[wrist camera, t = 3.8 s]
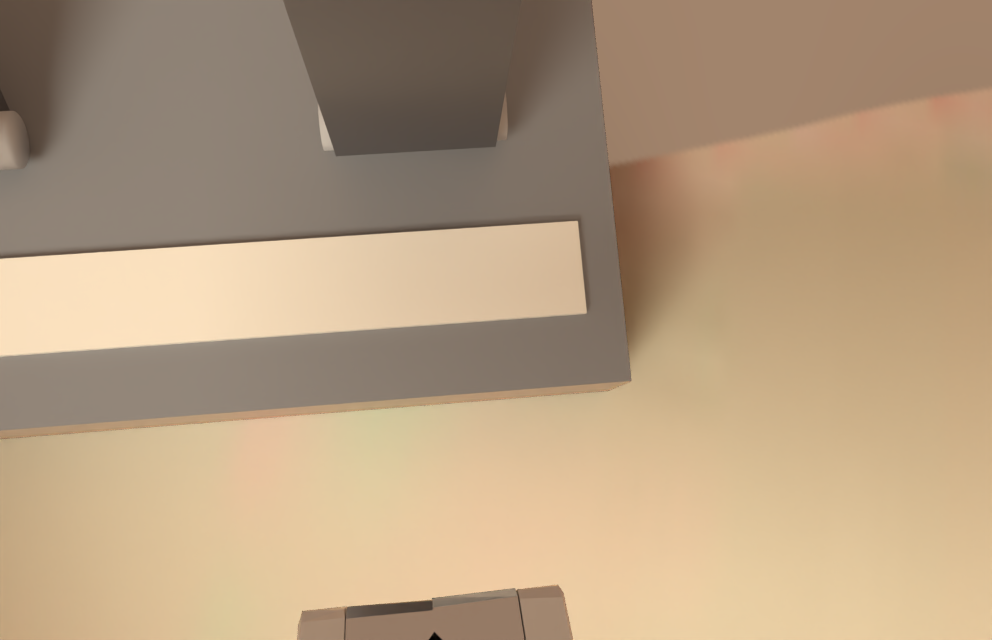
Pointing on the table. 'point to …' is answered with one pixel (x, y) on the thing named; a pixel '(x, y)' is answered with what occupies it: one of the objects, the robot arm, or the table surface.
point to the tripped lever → (407, 71)
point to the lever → (12, 139)
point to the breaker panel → (287, 229)
